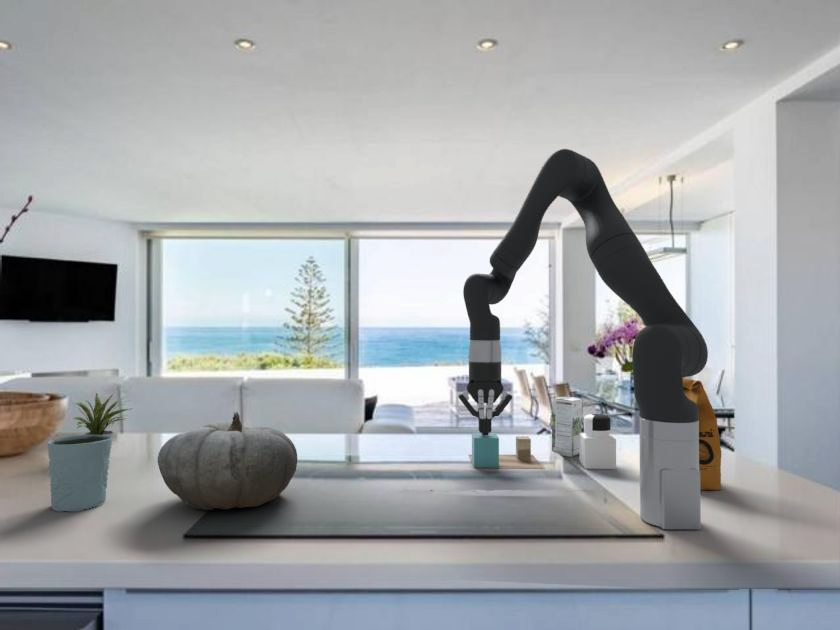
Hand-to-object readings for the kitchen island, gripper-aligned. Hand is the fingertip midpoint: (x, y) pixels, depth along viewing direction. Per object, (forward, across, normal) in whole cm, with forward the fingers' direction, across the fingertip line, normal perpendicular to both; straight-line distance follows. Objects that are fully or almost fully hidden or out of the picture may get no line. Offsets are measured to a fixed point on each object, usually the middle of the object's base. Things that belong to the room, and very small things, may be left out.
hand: (485, 434), depth 130 cm
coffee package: (+8, +42, -12) cm, 44 cm away
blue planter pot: (+8, -78, -26) cm, 83 cm away
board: (+8, +5, +3) cm, 10 cm away
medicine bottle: (+8, +27, +3) cm, 28 cm away
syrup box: (+8, +23, +15) cm, 29 cm away
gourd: (+8, -51, -24) cm, 57 cm away
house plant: (+8, -95, +9) cm, 96 cm away
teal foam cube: (+7, 0, 0) cm, 7 cm away
